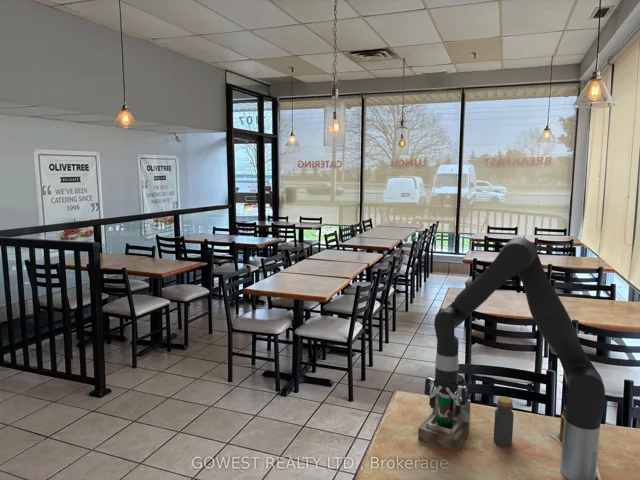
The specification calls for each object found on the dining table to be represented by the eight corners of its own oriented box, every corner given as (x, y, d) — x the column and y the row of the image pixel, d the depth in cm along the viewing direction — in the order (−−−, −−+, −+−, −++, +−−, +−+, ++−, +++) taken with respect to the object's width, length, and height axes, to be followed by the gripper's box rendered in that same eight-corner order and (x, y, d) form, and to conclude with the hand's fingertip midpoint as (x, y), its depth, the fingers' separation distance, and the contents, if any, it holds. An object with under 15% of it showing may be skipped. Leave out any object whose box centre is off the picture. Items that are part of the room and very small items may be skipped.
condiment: (568, 449, 154) (571, 415, 153) (549, 435, 162) (551, 403, 161) (586, 445, 157) (589, 411, 155) (566, 432, 165) (568, 400, 163)
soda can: (455, 424, 162) (456, 391, 160) (448, 430, 158) (450, 396, 156) (441, 419, 165) (442, 387, 163) (434, 425, 161) (436, 392, 160)
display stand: (469, 432, 164) (470, 400, 163) (455, 451, 153) (457, 417, 151) (433, 421, 172) (434, 390, 170) (418, 439, 160) (419, 405, 159)
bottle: (513, 447, 156) (516, 404, 153) (494, 445, 157) (497, 402, 155) (510, 437, 161) (512, 396, 159) (492, 435, 162) (494, 394, 160)
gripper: (422, 364, 160) (420, 409, 162) (464, 374, 152) (462, 421, 154) (430, 357, 166) (429, 400, 168) (471, 367, 158) (469, 412, 160)
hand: (444, 410), depth 161 cm, fingers open, 8 cm apart
